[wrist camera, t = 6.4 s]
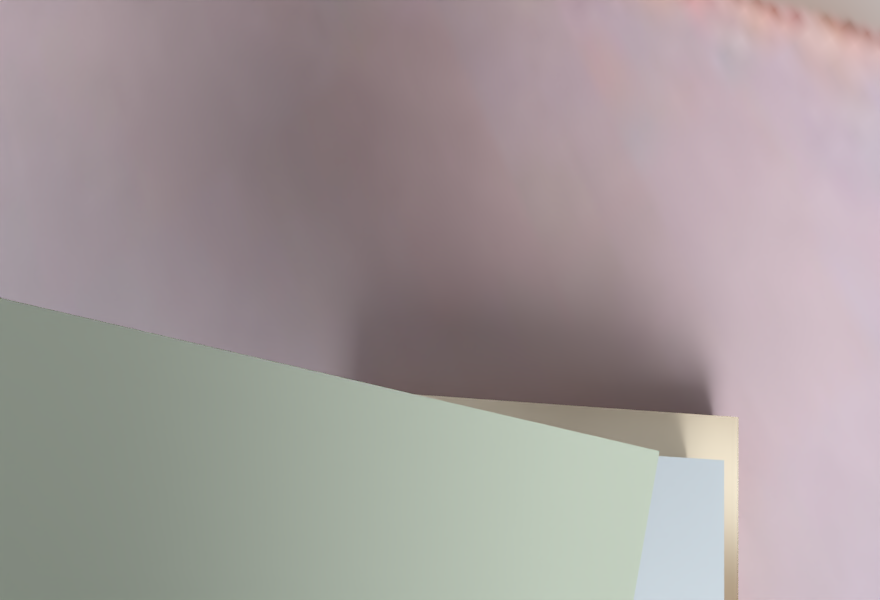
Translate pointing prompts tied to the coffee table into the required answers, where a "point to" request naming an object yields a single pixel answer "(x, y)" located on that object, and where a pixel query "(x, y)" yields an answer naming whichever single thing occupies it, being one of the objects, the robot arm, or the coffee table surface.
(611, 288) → the coffee table surface
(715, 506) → the tower top
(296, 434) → the column
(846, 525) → the coffee table surface
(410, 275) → the coffee table surface
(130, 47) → the coffee table surface
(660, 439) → the tower base
